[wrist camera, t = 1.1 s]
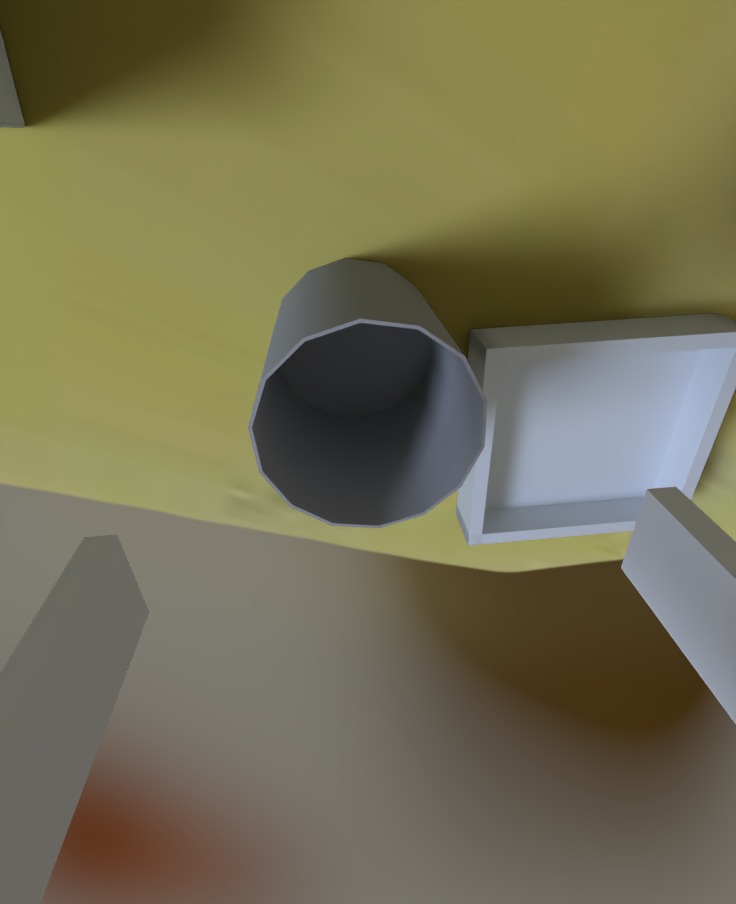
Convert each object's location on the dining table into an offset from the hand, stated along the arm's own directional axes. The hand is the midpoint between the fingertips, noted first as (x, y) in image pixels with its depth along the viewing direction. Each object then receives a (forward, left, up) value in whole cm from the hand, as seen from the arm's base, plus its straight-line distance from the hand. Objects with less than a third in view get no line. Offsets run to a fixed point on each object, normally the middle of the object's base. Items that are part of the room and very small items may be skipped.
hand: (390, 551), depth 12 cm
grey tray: (+6, +13, -16) cm, 21 cm away
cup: (0, 0, -16) cm, 16 cm away
